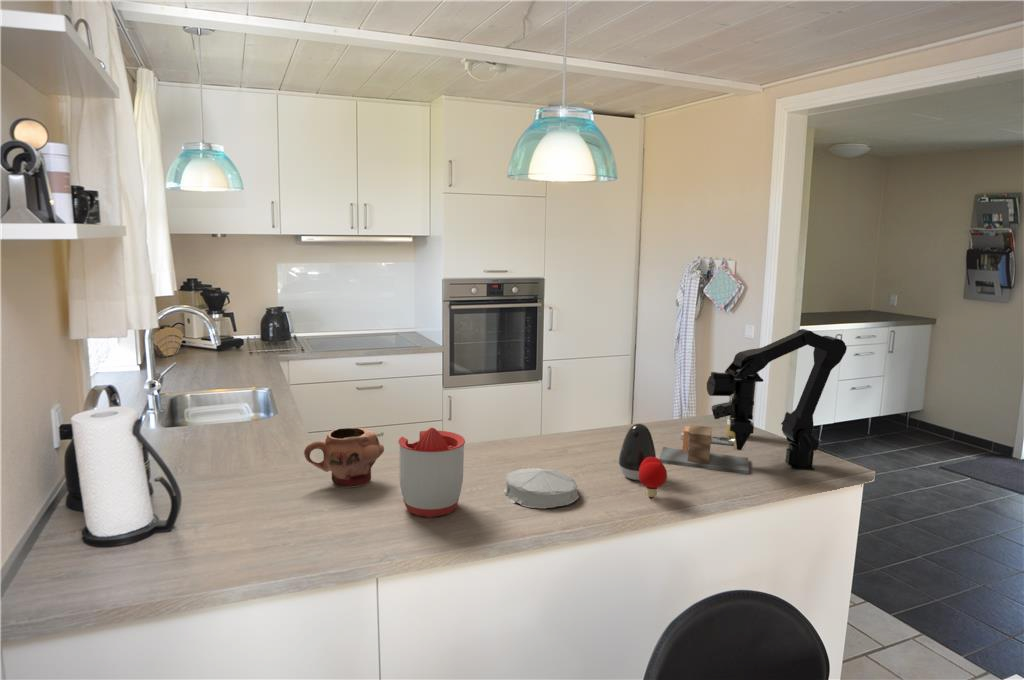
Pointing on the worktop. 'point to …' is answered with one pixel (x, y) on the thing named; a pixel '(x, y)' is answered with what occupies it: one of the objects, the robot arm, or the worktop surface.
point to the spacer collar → (686, 439)
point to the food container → (540, 488)
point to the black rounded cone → (635, 450)
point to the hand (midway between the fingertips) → (738, 447)
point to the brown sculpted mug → (348, 455)
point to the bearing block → (703, 454)
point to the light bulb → (652, 475)
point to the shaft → (722, 441)
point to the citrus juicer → (431, 472)
